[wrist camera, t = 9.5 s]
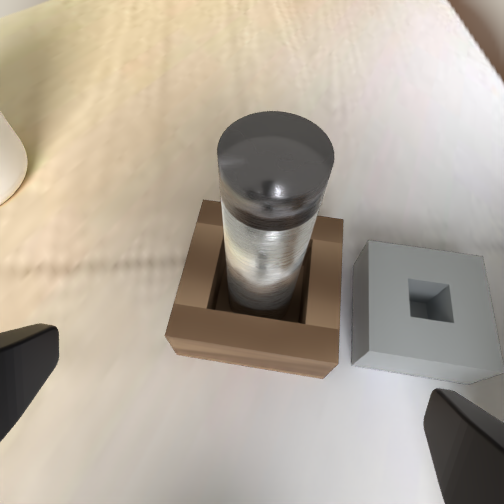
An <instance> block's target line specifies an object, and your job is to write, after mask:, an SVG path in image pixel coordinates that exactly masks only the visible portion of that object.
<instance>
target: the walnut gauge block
mask: <svg viewBox="0 0 504 504" xmlns="http://www.w3.org/2000/svg"><path fill="white" fill-rule="evenodd" d="M342 244H343V219H337V218H330V217H323V216H317V218H316V221H315V224H314V228H313V231H312V234H311V237H310V240H309V244H308V247H307V250H306V253H305V256H304V260H303V263H302V266H301V269H300V272H299V276H298V279H297V282H296V285H295V288H294V292H293V295H292V298H291V301H290V304H289V307H288V310H287V312H286V314H285V315H284V316H283V317H282V318H281V319H280V320H276V319H269V318H263V317H257V316H250V315H244V314H238V313H233V311H232V309H231V307H230V303H229V292H228V280H227V267H226V255H225V242H224V230H223V217H222V205H221V202H216V201H209V200H203V202H202V205H201V209H200V212H199V216H198V220H197V223H196V227H195V230H194V234H193V237H192V241H191V244H190V248H189V251H188V255H187V258H186V262H185V266H184V269H183V273H182V276H181V280H180V283H179V287H178V290H177V294H176V297H175V301H174V304H173V308H172V312H171V315H170V319H169V322H168V326H167V329H166V333H165V337H166V338H167V340H168V342H169V343H170V345H171V346H172V348H173V349H174V351H175V353H176V354H177V355H182V356H188V357H194V358H200V359H206V360H212V361H218V362H224V363H230V364H236V365H242V366H248V367H254V368H260V369H266V370H272V371H278V372H284V373H290V374H296V375H302V376H308V377H314V378H320V379H323V378H324V377H325V376H326V375H327V374H328V373H329V372H330V371H331V370H333V369H334V368H335V367H336V366H337V365H338V359H339V330H340V302H341V273H342Z"/></svg>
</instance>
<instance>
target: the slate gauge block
mask: <svg viewBox="0 0 504 504" xmlns="http://www.w3.org/2000/svg"><path fill="white" fill-rule="evenodd" d="M352 366H357V367H363V368H370V369H376V370H382V371H388V372H394V373H400V374H406V375H413V376H419V377H425V378H431V379H437V380H443V381H449V382H455V383H462V384H471V383H475V382H478V381H481V380H484V379H487V378H490V377H493V376H496V375H500V374H503V373H504V364H503V359H502V354H501V349H500V343H499V338H498V333H497V327H496V322H495V317H494V312H493V306H492V301H491V296H490V291H489V285H488V280H487V275H486V270H485V264H484V259H483V256H477V255H470V254H463V253H456V252H449V251H442V250H435V249H428V248H421V247H414V246H407V245H400V244H393V243H386V242H379V241H372V240H368V242H367V243H366V245H365V247H364V249H363V250H362V252H361V254H360V255H359V257H358V259H357V260H356V262H355V264H354V266H353V319H352Z"/></svg>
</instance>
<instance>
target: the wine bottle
mask: <svg viewBox="0 0 504 504" xmlns="http://www.w3.org/2000/svg"><path fill="white" fill-rule="evenodd" d="M27 163H28V160H27V154H26V151H25V148H24V145H23V143H22V141H21V140H20V139H19V137H18V136H17V134H16V133H15V131H14V130H13V129H12V127H11V126H10V124H9V123H8V121H7V120H6V118H5V117H4V116H3V114H2V113H1V111H0V205H1V204H2V203H4V202H5V201H6V200H7V199H8V198H10V197H11V196H12V195H13V194H14V193H15V191H16V190H17V189H18V188H19V186H20V185H21V183H22V181H23V179H24V177H25V174H26V171H27Z"/></svg>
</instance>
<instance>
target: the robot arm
mask: <svg viewBox="0 0 504 504" xmlns="http://www.w3.org/2000/svg"><path fill="white" fill-rule="evenodd" d="M58 360H59V332H58V329H57V327H56V326H53V325H47V324H35V325H30V326H26V327H22V328H18V329H14V330H10V331H6V332H2V333H0V442H1V441H2V439H3V438H4V437H5V436H6V435H7V433H8V432H9V431H10V430H11V429H12V427H13V426H14V425H15V424H16V422H17V421H18V420H19V418H20V417H21V416H22V414H23V413H24V412H25V410H26V409H27V407H28V406H29V404H30V403H31V402H32V400H33V399H34V397H35V396H36V394H37V393H38V391H39V390H40V389H41V387H42V386H43V384H44V383H45V381H46V380H47V378H48V377H49V376H50V374H51V373H52V371H53V370H54V368H55V367H56V365H57V363H58ZM424 431H425V434H426V438H427V442H428V446H429V449H430V453H431V457H432V460H433V464H434V468H435V471H436V475H437V479H438V483H439V486H440V489H441V493H442V496H443V499H444V502H445V504H504V423H503V422H501V421H500V420H498V419H496V418H495V417H493V416H492V415H490V414H489V413H487V412H486V411H484V410H483V409H481V408H480V407H478V406H476V405H475V404H473V403H472V402H470V401H469V400H467V399H466V398H464V397H463V396H461V395H459V394H458V393H456V392H455V391H452V390H446V389H440V388H436V389H434V390H433V391H432V393H431V396H430V399H429V403H428V406H427V409H426V413H425V416H424Z"/></svg>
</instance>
